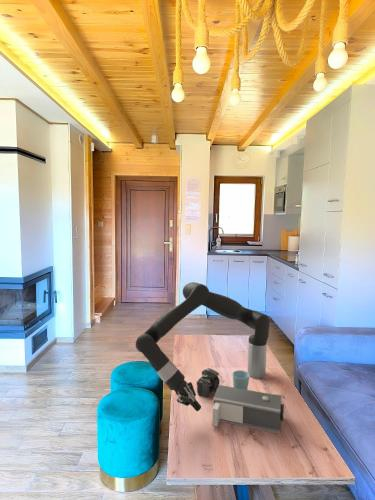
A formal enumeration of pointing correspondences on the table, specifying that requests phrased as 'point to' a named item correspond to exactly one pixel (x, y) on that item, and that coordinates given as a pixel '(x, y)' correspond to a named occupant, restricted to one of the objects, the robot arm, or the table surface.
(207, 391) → the camera
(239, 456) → the table surface
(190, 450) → the table surface
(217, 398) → the grey box
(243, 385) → the cup
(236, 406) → the side door
